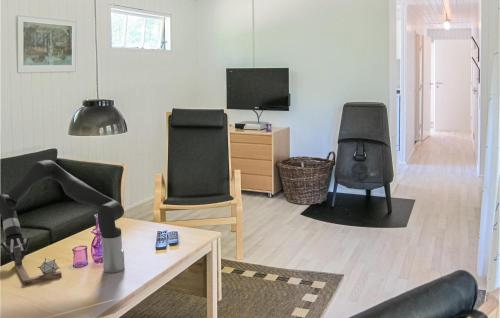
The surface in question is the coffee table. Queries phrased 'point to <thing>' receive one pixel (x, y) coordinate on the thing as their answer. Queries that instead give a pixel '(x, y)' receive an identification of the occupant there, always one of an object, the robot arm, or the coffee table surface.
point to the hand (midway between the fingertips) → (18, 259)
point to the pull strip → (24, 274)
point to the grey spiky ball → (48, 266)
